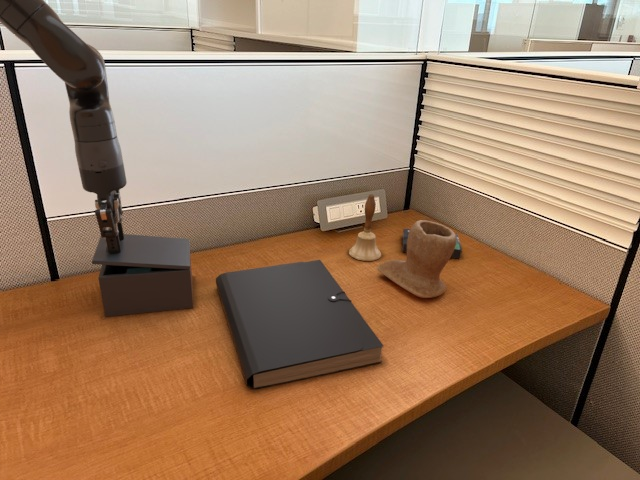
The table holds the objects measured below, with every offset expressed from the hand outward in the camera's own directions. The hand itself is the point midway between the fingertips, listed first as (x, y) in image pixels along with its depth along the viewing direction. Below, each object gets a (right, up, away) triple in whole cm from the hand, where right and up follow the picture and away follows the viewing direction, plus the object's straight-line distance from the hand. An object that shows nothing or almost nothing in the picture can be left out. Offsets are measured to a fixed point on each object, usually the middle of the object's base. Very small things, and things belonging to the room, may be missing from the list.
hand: (116, 245), depth 94 cm
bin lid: (+5, -1, +2) cm, 5 cm away
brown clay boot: (+62, -9, +16) cm, 64 cm away
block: (+3, -10, +6) cm, 12 cm away
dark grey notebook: (+34, -15, 0) cm, 37 cm away
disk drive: (+69, -1, +34) cm, 77 cm away
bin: (+5, -11, +6) cm, 13 cm away
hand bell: (+51, -3, +29) cm, 59 cm away
